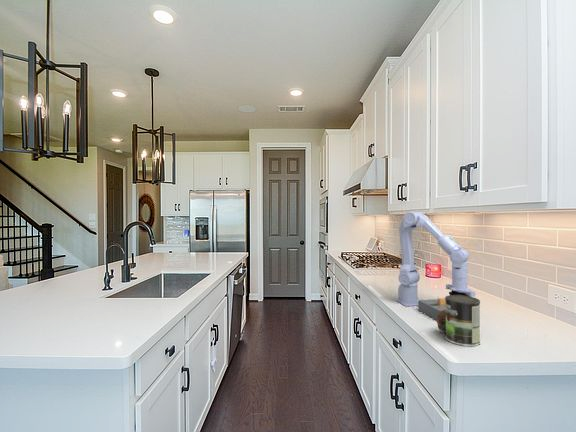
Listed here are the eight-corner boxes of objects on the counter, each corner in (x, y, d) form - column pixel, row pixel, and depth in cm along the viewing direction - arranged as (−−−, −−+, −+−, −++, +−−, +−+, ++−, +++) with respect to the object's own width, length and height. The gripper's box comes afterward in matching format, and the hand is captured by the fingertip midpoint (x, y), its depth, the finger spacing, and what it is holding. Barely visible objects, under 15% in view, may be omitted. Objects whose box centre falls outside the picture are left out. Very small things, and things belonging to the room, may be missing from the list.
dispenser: (436, 309, 142) (436, 299, 142) (459, 321, 126) (459, 309, 126) (418, 310, 141) (418, 300, 141) (439, 322, 125) (439, 310, 125)
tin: (441, 335, 111) (441, 311, 111) (435, 332, 114) (435, 309, 114) (476, 330, 115) (475, 307, 115) (469, 327, 118) (468, 305, 118)
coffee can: (457, 347, 101) (456, 303, 101) (439, 335, 111) (439, 295, 111) (488, 346, 102) (487, 302, 102) (467, 334, 112) (467, 294, 112)
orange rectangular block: (461, 312, 136) (461, 296, 136) (464, 313, 134) (464, 298, 134) (437, 313, 134) (437, 298, 134) (440, 315, 132) (440, 299, 132)
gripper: (439, 275, 141) (440, 305, 141) (464, 281, 126) (465, 315, 126) (453, 274, 142) (453, 304, 142) (479, 280, 128) (480, 314, 128)
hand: (460, 309), depth 134 cm, fingers closed on orange rectangular block, 2 cm apart
